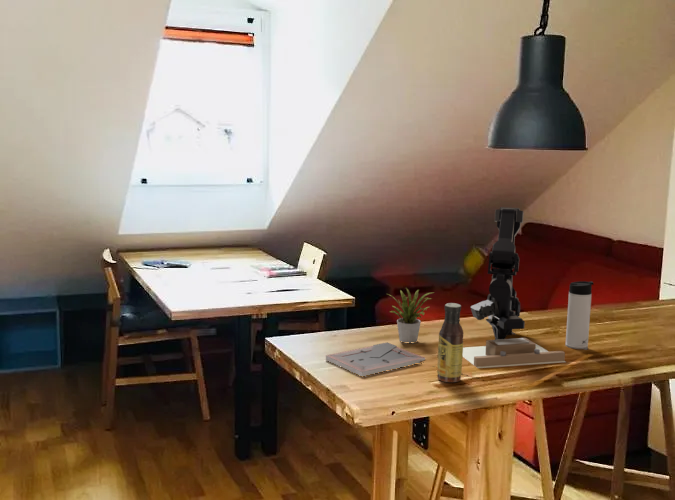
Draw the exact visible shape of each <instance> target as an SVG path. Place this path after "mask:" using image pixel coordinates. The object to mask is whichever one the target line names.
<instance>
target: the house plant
mask: <svg viewBox="0 0 675 500" xmlns="http://www.w3.org/2000/svg"><path fill="white" fill-rule="evenodd" d="M404 289H406V292H407V295H405V293H404V292H403V291H402V290H401V289H399V292H400V296H401V301H402V302H401V301H400V299H396V297H394V296H393V295H391V294H389V293H387V295H388V296H390V297H392V299H394V300H395V301H396V303H397V304H398V306H399V307H400V309H399V307H396V306H395V305H391V307H392V308H394V310H391V311H390V310H389V312H388V313H393V314H395V315H397V316H398V317H399V318H398V319H397V320H396V323H397V324H396V325H397V332H398V338H399V342H400V341H402V342H409V343H411V342H416V341H417V342H418V338H419V333H420V327H421V324H422V323H421V322H422V321H421V320H420V319H417V318H418V317H419V318H421V319H422V315H423V316H424V315H425V312H424V311H427V309H428V308H429V306H427V307H424V308H423V307H421V306H423V304H424V303H425V302H427V301H428V300H432V299H433V298H431V297H427V298H426V296H428V295H431V294H434V293H435V292H426V293H424V294H423V295H422V296H421V297H420V298H419V299H418V297H419V291H420V289H417V290H416V291H415V293H414V295H413V298H412V295H411V292H410V290H409V289H408V288H407V287H405V288H404ZM417 300H418V301H417ZM419 304H420V305H419ZM417 307H418V308H417ZM420 310H421V311H420ZM402 342H401V343H402ZM417 342H416V343H417Z"/></svg>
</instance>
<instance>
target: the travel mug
mask: <svg viewBox="0 0 675 500" xmlns="http://www.w3.org/2000/svg"><path fill="white" fill-rule="evenodd" d="M592 286H594V282H593V281H583V280H582V281H574V282H570V283H569V288H568V289H569V290H568V299H567V300H568V302H567V303H568V304H567V316H566V332H565V347H566V348H569V349H573V350H575V349H576V350H585V351H587V350H588V349H589V336H590V335H589V333H590V321H591V319H590V317H591V306H592V290H593V289H592Z"/></svg>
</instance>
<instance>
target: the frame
mask: <svg viewBox="0 0 675 500" xmlns="http://www.w3.org/2000/svg"><path fill="white" fill-rule="evenodd" d="M536 344H537V343H536V342H533V341H532V340H530V339H528V338H526V337H519V338H505V339H498V340H495V339H486V340H485V346H486V354H485V355H487V356H490V355H500V353H501V351H505V352H506V354H520V353H534V350H535V349H536Z"/></svg>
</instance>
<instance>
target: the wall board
mask: <svg viewBox="0 0 675 500" xmlns="http://www.w3.org/2000/svg"><path fill="white" fill-rule="evenodd" d="M535 344H536V349H535V350H534V353H520V354H506V352H505V351H501V353H500V355H490V356H487V355H485V354H486V345H482V346H480V345H479V346H468V347H467V346H466V347H464V346H463V357H462V358H464V359H465V360H466V361H467V362H469V363H470V364H471V365H473V366H474V367H475V368H477V369H483V368H484V369H485V368H486V369H487V368H501V367H516V366H528V365H529V366H531V365H543V364H545V365H546V364H557V363H559V364H560V363H567V361H565V355H566V352H565V351H564V350H555V351H554V350H552V351H548V350H547V349H546V348H544V347H542V346H541V345H538V344H537V343H535Z"/></svg>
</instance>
